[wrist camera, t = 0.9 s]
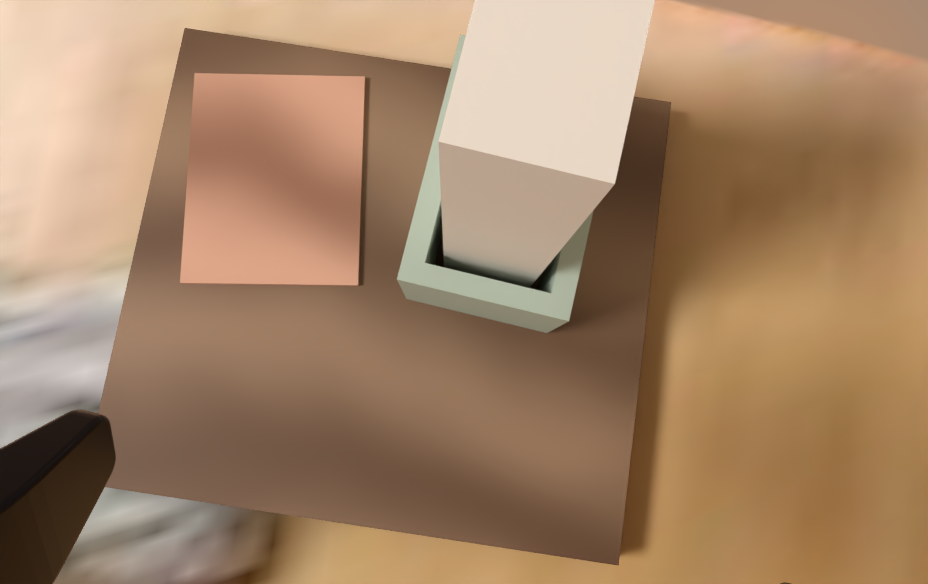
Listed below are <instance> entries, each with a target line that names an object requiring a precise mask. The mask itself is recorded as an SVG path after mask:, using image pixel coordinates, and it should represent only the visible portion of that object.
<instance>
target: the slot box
mask: <svg viewBox="0 0 928 584" xmlns="http://www.w3.org/2000/svg"><path fill="white" fill-rule="evenodd" d="M465 37H466V36H464V35H460V38H459V42H458V46H457V49H456V53H455V57H454V61H453V65H452V69H451V73H450V76H449V80H448V84H447V88H446V92H445V96H444V100H443V103H442V107H441V111H440V115H439V119H438V123H437V126H436V130H435V134H434V138H433V142H432V146H431V150H430V153H429V157H428V161H427V165H426V169H425V173H424V177H423V180H422V184H421V188H420V192H419V196H418V200H417V203H416V207H415V211H414V215H413V219H412V223H411V227H410V230H409V234H408V238H407V242H406V246H405V250H404V254H403V257H402V261H401V265H400V269H399V273H398V277H397V281H398V283H399V285H400V287H401V289H402V291H403V293H404V295H405V297H406V299H409V300H413V301H417V302H421V303H425V304H429V305H433V306H437V307H441V308H446V309H450V310H454V311H458V312H462V313H466V314H470V315H474V316H478V317H483V318H487V319H491V320H495V321H499V322H503V323H507V324H511V325H516V326H520V327H524V328H528V329H532V330H536V331H540V332H544V333H548V332H550V331H552V330H554V329H555V328H557V327H559V326H561V325H563V324H565V323H567V322H569V319H570V315H571V310H572V306H573V301H574V297H575V292H576V288H577V283H578V279H579V274H580V269H581V265H582V260H583V256H584V251H585V247H586V242H587V238H588V233H589V229H590V224H591V220H592V215H593V211H592V212H591V214H590V215H589V216H588V217H587V219H586V220H585V221H584V222H583V223H582V225H581V226H580V227H579V228H578V230H577V231H576V232H575V233H574V234H573V236H572V237H571V238H570V239H569V240H568V242H567V243H566V244H565V245H564V247H563V248H562V249H561V250H560V251H559V253H558V254H557V255H556V256H555V257H554V259H553V260H552V261H551V262H550V264H549V265H548V266H547V267H546V268H545V270H544V271H543V272H542V273H541V276H540V281H539V285H538V289H537V290H535V289H531V288H527V287H523V286H519V285H515V284H511V283H506V282H502V281H498V280H494V279H490V278H486V277H482V276H478V275H473V274H469V273H465V272H461V271H457V270H453V269H449V268H445V267H440V266H436V265H435V261H436V257H437V253H438V249H439V245H440V241H441V237H442V233H443V232H442V210H441V188H440V166H439V143H438V141H439V137H440V134H441V130H442V126H443V122H444V118H445V114H446V110H447V106H448V103H449V99H450V95H451V91H452V87H453V83H454V79H455V75H456V72H457V68H458V64H459V60H460V56H461V52H462V48H463V45H464V41H465Z"/></svg>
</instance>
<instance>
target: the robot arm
mask: <svg viewBox="0 0 928 584" xmlns="http://www.w3.org/2000/svg"><path fill="white" fill-rule="evenodd" d="M115 460H116V453H115V448H114V442H113V436H112V430H111V424H110V421H109V419H108V418H107V417H106V416H105V415H102V414H98V413H94V412H90V411H86V410H79V409H78V410H73V411H70V412H68V413H66V414H64V415H62V416H60V417H58V418H56V419H55V420H53V421H51V422H49V423H47V424H45V425H43V426H42V427H40V428H38V429H36V430H34V431H32V432H30V433H28V434H27V435H25V436H23V437H21V438H19V439H17V440H15V441H14V442H12V443H10V444H8V445H6V446H4V447H2V448H0V584H53V582H54V581H55V579H56V577H57V576H58V574H59V572H60V570H61V568H62V567H63V565H64V563H65V561H66V559H67V557H68V555H69V554H70V552H71V550H72V548H73V546H74V544H75V542H76V540H77V538H78V536H79V535H80V533H81V531H82V529H83V527H84V525H85V523H86V521H87V519H88V518H89V516H90V514H91V512H92V510H93V508H94V506H95V504H96V502H97V500H98V499H99V497H100V495H101V493H102V491H103V489H104V487H105V485H106V483H107V481H108V480H109V478H110V476H111V474H112V471H113V469H114V466H115ZM781 584H790V583H781Z"/></svg>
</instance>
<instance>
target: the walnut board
mask: <svg viewBox="0 0 928 584" xmlns="http://www.w3.org/2000/svg"><path fill="white" fill-rule="evenodd" d="M450 73H451V69H449V68H443V67H436V66H430V65H423V64H417V63H410V62H404V61H397V60H391V59H384V58H378V57H371V56H365V55H358V54H351V53H345V52H338V51H332V50H325V49H319V48H312V47H306V46H299V45H293V44H286V43H280V42H273V41H267V40H260V39H253V38H247V37H240V36H234V35H227V34H221V33H214V32H208V31H201V30H195V29H188V28H185V30H184V34H183V39H182V43H181V47H180V52H179V56H178V61H177V65H176V70H175V74H174V79H173V83H172V87H171V92H170V96H169V101H168V105H167V110H166V114H165V119H164V123H163V127H162V132H161V136H160V141H159V145H158V150H157V154H156V159H155V163H154V167H153V172H152V176H151V181H150V185H149V190H148V194H147V199H146V203H145V207H144V212H143V216H142V221H141V225H140V230H139V234H138V239H137V243H136V247H135V252H134V256H133V261H132V265H131V270H130V274H129V279H128V283H127V287H126V292H125V296H124V301H123V305H122V310H121V314H120V319H119V323H118V327H117V332H116V336H115V341H114V345H113V350H112V354H111V359H110V363H109V367H108V372H107V376H106V381H105V385H104V390H103V394H102V399H101V403H100V407H99V412H98V414H102V415H105V416H106V417H107V418H108V419H109V421H110V424H111V430H112V436H113V442H114V448H115V453H116V460H115V466H114V469H113V471H112V474H111V476H110V478H109V480H108V481H107V483H106V485H105V487H109V488H115V489H122V490H128V491H135V492H141V493H148V494H154V495H161V496H168V497H174V498H181V499H187V500H194V501H200V502H207V503H213V504H220V505H226V506H233V507H240V508H246V509H253V510H259V511H266V512H272V513H279V514H285V515H292V516H299V517H305V518H312V519H318V520H325V521H331V522H338V523H344V524H351V525H357V526H364V527H371V528H377V529H384V530H390V531H397V532H403V533H410V534H416V535H423V536H429V537H436V538H443V539H449V540H456V541H462V542H469V543H475V544H482V545H488V546H495V547H502V548H508V549H515V550H521V551H528V552H534V553H541V554H547V555H554V556H560V557H567V558H574V559H580V560H587V561H593V562H600V563H606V564H613V565H619V557H620V548H621V539H622V530H623V521H624V512H625V504H626V495H627V486H628V477H629V468H630V459H631V451H632V442H633V433H634V424H635V415H636V406H637V398H638V389H639V380H640V371H641V362H642V354H643V345H644V336H645V327H646V318H647V309H648V301H649V292H650V283H651V274H652V265H653V256H654V248H655V239H656V230H657V221H658V212H659V203H660V195H661V186H662V177H663V168H664V159H665V150H666V142H667V133H668V124H669V115H670V106H671V102H665V101H659V100H652V99H645V98H639V97H634V98H633V103H632V108H631V112H630V117H629V122H628V126H627V131H626V135H625V140H624V145H623V149H622V154H621V158H620V163H619V168H618V172H617V177H616V181H615V185H614V186H613V187H612V188H611V189H610V191H609V192H608V193H607V194H606V195H605V197H604V198H603V199H602V200H601V202H600V203H599V204H598V205H597V206H596V208H595V209H594V210H593V215H592V220H591V224H590V229H589V233H588V238H587V242H586V247H585V251H584V256H583V260H582V265H581V269H580V274H579V279H578V283H577V288H576V292H575V297H574V301H573V306H572V310H571V315H570V319H569V322H567V323H565V324H563V325H561V326H559V327H557V328H555V329H554V330H552V331H550V332H548V333H544V332H540V331H536V330H532V329H528V328H524V327H520V326H516V325H511V324H507V323H503V322H499V321H495V320H491V319H487V318H483V317H478V316H474V315H470V314H466V313H462V312H458V311H454V310H450V309H446V308H441V307H437V306H433V305H429V304H425V303H421V302H417V301H413V300H409V299H406V297H405V295H404V293H403V291H402V289H401V287H400V285H399V283H398V281H397V277H398V273H399V269H400V265H401V261H402V257H403V254H404V250H405V246H406V242H407V238H408V234H409V230H410V227H411V223H412V219H413V215H414V211H415V207H416V203H417V200H418V196H419V192H420V188H421V184H422V180H423V177H424V173H425V169H426V165H427V161H428V157H429V153H430V150H431V146H432V142H433V138H434V134H435V130H436V126H437V123H438V119H439V115H440V111H441V107H442V103H443V100H444V96H445V92H446V88H447V84H448V80H449V76H450ZM435 265H436V266H440V267H444V254H443V233H442V237H441V241H440V245H439V249H438V253H437V257H436V261H435ZM540 276H541V275H540ZM540 276H539V277H538V278H537V279H536V281H535V282H534V283H533V284H532V285H531V287H530V288H531V289H535V290H537V289H538V285H539V281H540Z"/></svg>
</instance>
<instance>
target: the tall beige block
mask: <svg viewBox="0 0 928 584" xmlns="http://www.w3.org/2000/svg"><path fill="white" fill-rule="evenodd" d="M654 2H655V0H475V2H474V6H473V10H472V14H471V17H470V21H469V25H468V29H467V33H466V37H465V41H464V45H463V48H462V52H461V56H460V60H459V64H458V68H457V72H456V75H455V79H454V83H453V87H452V91H451V95H450V99H449V103H448V106H447V110H446V114H445V118H444V122H443V126H442V130H441V134H440V137H439V141H438V143H439V166H440V188H441V210H442V232H443V254H444V267H445V268H449V269H453V270H457V271H461V272H465V273H469V274H473V275H478V276H482V277H486V278H490V279H494V280H498V281H502V282H506V283H511V284H515V285H519V286H523V287H527V288H530V287H531V285H532V284H533V283H534V282H535V281H536V279H537V278H538V277H539V276H540V275H541V273H542V272H543V271H544V270H545V268H546V267H547V266H548V265H549V264H550V262H551V261H552V260H553V259H554V257H555V256H556V255H557V254H558V253H559V251H560V250H561V249H562V248H563V247H564V245H565V244H566V243H567V242H568V240H569V239H570V238H571V237H572V236H573V234H574V233H575V232H576V231H577V230H578V228H579V227H580V226H581V225H582V223H583V222H584V221H585V220H586V219H587V217H588V216H589V215H590V214H591V212H592V211H593V210H594V209H595V208H596V206H597V205H598V204H599V203H600V202H601V200H602V199H603V198H604V197H605V195H606V194H607V193H608V192H609V191H610V189H611V188H612V187H613V186H614V185H615V181H616V177H617V172H618V168H619V163H620V158H621V154H622V149H623V145H624V140H625V135H626V131H627V126H628V122H629V117H630V112H631V108H632V103H633V98H634V94H635V89H636V85H637V80H638V75H639V71H640V66H641V62H642V57H643V52H644V48H645V43H646V39H647V34H648V29H649V25H650V20H651V15H652V11H653V6H654Z"/></svg>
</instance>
